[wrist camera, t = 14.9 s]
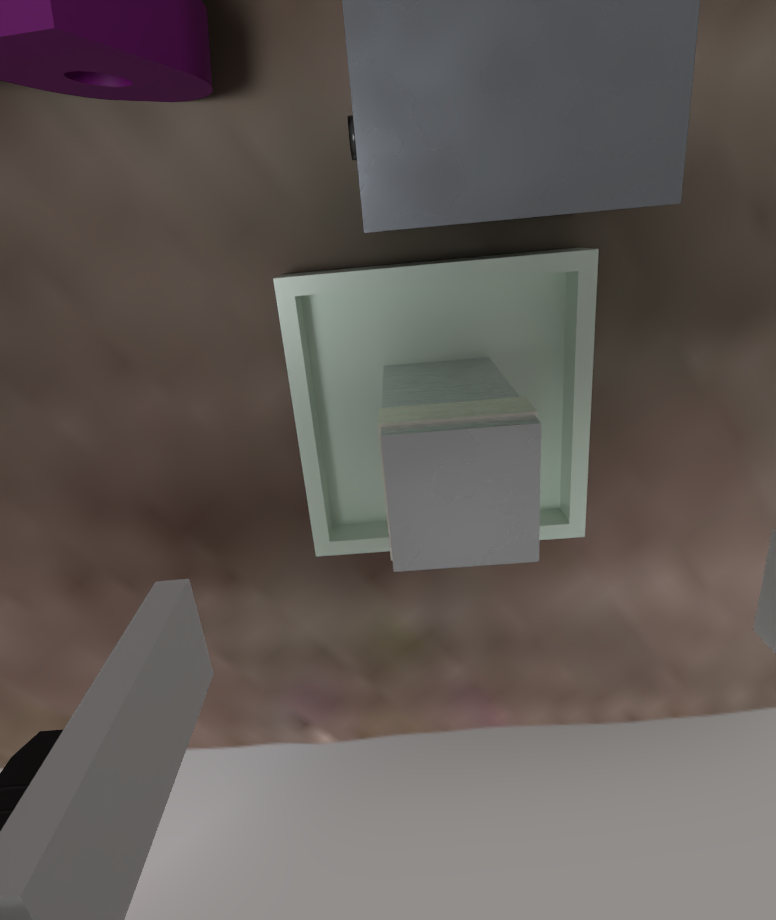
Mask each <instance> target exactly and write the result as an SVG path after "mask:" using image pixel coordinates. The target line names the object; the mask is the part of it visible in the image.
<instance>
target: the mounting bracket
mask: <svg viewBox="0 0 776 920" xmlns="http://www.w3.org/2000/svg"><path fill="white" fill-rule="evenodd" d="M0 80H1V81H6V82H10V83H14V84H18V85H23V86H27V87H31V88H36V89H41V90H46V91H51V92H56V93H62V94H68V95H75V96H82V97H89V98H97V99H107V100H130V101H157V102H180V101H190V100H196V99H200V98H203V97H206V96H208V95H210V94H211V93H212V91H213V89H212V75H211V61H210V46H209V32H208V18H207V9H206V7H205V5H204V3H203V2H202V1H201V0H0Z"/></svg>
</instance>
